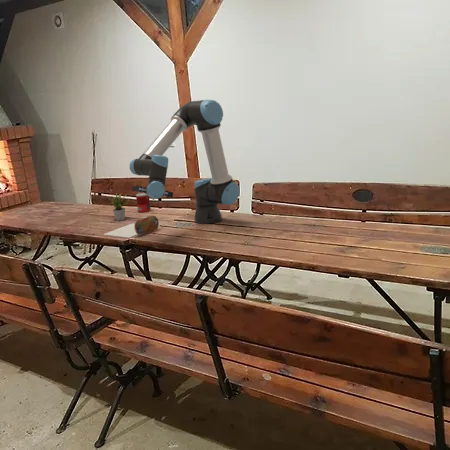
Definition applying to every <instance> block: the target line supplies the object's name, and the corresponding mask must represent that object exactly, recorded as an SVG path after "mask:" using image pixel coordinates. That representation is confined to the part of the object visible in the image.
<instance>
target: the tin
mask: <svg viewBox="0 0 450 450" xmlns="http://www.w3.org/2000/svg"><path fill="white" fill-rule="evenodd" d="M134 224H135V231H136V233H137V234H139V235H140V236H145V235H149V234H151V233H153V232H155V231H157V229H158V228H159V219H158V217H157V216H155V215H148V216H144V217H142V218H139V219H137V220H136V221H135V222H134ZM139 235H138V236H139Z"/></svg>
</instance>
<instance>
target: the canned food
mask: <svg viewBox="0 0 450 450" xmlns="http://www.w3.org/2000/svg"><path fill="white" fill-rule="evenodd" d="M135 198H136V199H135V200H136V207H137V211H138V213H148V212H151V209H152V208H151V202H150V197H148V196H147V194H145V193H144V192H139V193H137V194H135Z"/></svg>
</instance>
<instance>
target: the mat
mask: <svg viewBox="0 0 450 450" xmlns="http://www.w3.org/2000/svg"><path fill="white" fill-rule="evenodd" d="M102 235H103V236H107V237H115V238H123V239H132V238H133V237H136V236H139V234H137V233H136V231H135V223H129V224H126V225H125V226H122V227H120V228H119V227H118V228H116V229H114V230H110V231H108V232H105V233H103V234H102Z"/></svg>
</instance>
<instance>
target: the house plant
mask: <svg viewBox="0 0 450 450" xmlns="http://www.w3.org/2000/svg"><path fill="white" fill-rule="evenodd" d="M122 194H123V193H119V194H118V193H117V192H116V193H115V196H113V195H111V197H112V198H111V197H110V196H108V197H107V199H109V200H110V201H111V202H110V204H109V205H108V207H109V208H114V209H113V210H112V212H113V216H114V218H115V220H116V221H124V220H125V219H126V208H125V207H124V205H125V204H128V202H127V201H129V200H131V199H130V198H126V199H125V197H127V194H125V195H124V196H122Z"/></svg>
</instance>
